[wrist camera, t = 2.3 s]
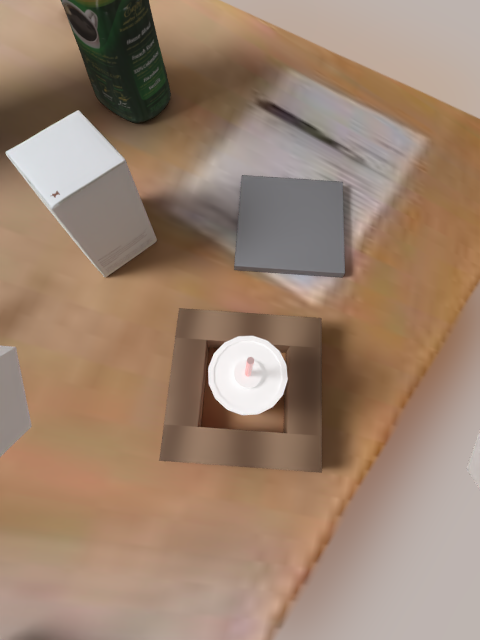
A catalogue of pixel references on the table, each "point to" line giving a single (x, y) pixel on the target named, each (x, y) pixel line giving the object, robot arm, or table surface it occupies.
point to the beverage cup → (247, 375)
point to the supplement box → (86, 190)
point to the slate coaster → (290, 226)
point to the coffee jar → (121, 55)
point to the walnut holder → (241, 445)
